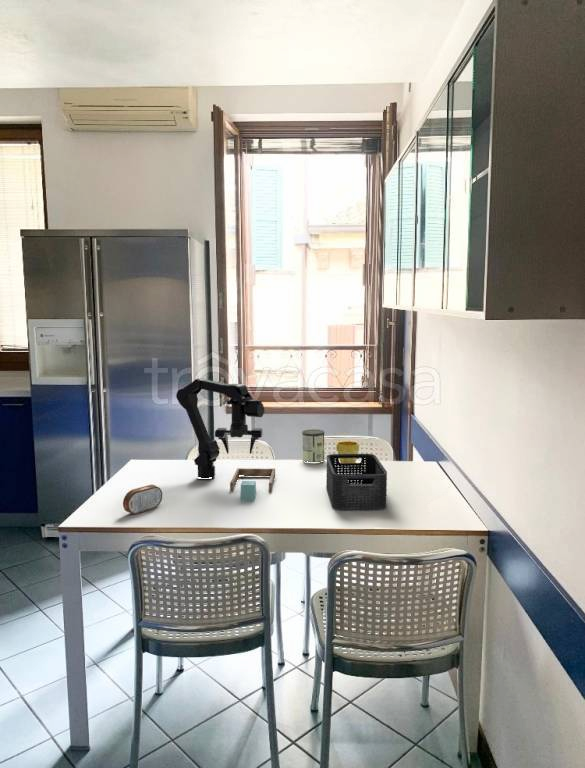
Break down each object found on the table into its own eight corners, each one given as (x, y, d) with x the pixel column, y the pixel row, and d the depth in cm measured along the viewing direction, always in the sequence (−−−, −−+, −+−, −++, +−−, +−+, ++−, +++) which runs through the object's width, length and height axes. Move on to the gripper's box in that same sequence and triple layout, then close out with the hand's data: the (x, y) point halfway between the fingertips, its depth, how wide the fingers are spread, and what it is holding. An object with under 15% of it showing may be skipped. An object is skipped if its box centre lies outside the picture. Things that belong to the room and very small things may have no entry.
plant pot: (331, 464, 258) (331, 443, 257) (344, 460, 266) (344, 439, 265) (350, 468, 251) (350, 446, 250) (363, 463, 259) (363, 442, 258)
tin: (158, 504, 205) (158, 481, 204) (164, 506, 203) (163, 483, 202) (122, 515, 193) (121, 491, 192) (128, 517, 191) (127, 493, 190)
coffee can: (309, 457, 271) (309, 428, 270) (328, 460, 266) (328, 430, 264) (298, 462, 263) (298, 432, 261) (317, 465, 257) (317, 434, 256)
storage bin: (388, 510, 197) (389, 473, 196) (333, 511, 197) (333, 473, 195) (373, 486, 226) (374, 453, 224) (325, 487, 225) (325, 453, 223)
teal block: (240, 500, 208) (240, 484, 208) (242, 496, 213) (242, 481, 212) (254, 500, 208) (254, 485, 207) (255, 496, 213) (255, 481, 212)
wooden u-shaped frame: (230, 491, 219) (230, 482, 218) (237, 476, 240) (237, 468, 239) (271, 492, 218) (271, 483, 218) (275, 476, 239) (275, 468, 239)
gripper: (211, 419, 221) (212, 458, 222) (259, 419, 220) (260, 458, 222) (217, 414, 232) (217, 451, 233) (262, 414, 231) (262, 451, 233)
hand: (239, 453), depth 230 cm, fingers open, 9 cm apart
